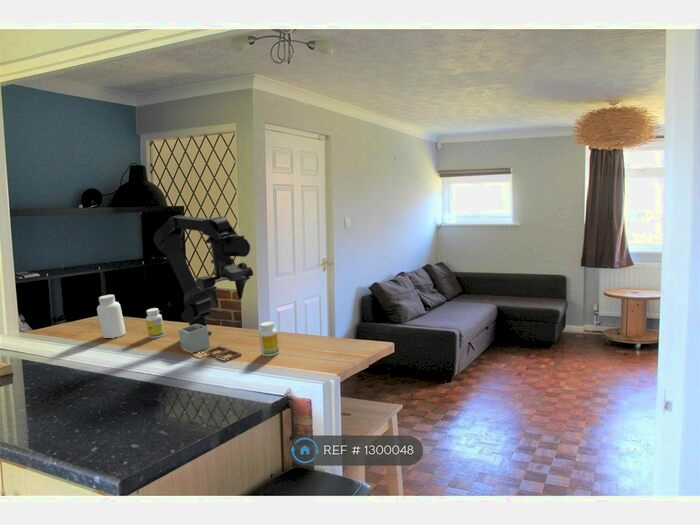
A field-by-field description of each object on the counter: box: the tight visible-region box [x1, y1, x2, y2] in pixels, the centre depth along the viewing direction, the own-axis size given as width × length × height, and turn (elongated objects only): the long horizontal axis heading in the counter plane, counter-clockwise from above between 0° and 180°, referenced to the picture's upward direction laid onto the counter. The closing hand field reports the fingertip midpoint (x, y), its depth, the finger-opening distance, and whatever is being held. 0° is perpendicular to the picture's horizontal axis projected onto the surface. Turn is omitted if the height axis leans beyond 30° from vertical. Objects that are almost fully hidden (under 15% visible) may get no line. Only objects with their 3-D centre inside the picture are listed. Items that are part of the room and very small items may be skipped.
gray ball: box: [189, 325, 200, 332], centre depth 181 cm, size 4×4×4 cm
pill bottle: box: [96, 294, 126, 339], centre depth 203 cm, size 8×8×15 cm
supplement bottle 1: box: [145, 307, 166, 339], centre depth 198 cm, size 5×5×10 cm
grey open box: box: [177, 324, 211, 353], centre depth 181 cm, size 7×7×7 cm
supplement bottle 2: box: [258, 321, 280, 357], centre depth 169 cm, size 5×5×10 cm
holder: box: [204, 345, 242, 360], centre depth 173 cm, size 12×6×1 cm, turn 44°
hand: (228, 302), depth 184 cm, fingers open, 9 cm apart
